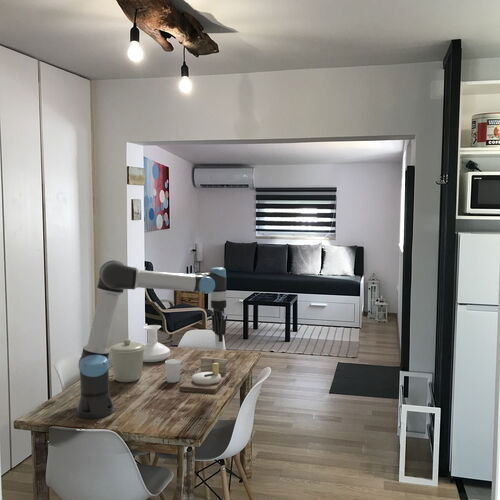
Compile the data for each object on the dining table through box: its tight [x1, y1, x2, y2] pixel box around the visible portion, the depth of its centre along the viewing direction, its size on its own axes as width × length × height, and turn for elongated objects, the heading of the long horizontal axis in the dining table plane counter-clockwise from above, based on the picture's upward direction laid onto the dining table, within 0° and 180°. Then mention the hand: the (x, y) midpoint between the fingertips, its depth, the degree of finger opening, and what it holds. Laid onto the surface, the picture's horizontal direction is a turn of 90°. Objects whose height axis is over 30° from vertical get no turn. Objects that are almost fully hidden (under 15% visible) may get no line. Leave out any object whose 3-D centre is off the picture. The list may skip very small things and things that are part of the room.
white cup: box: [164, 358, 182, 384], centre depth 266 cm, size 8×8×10 cm
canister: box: [108, 338, 145, 383], centre depth 268 cm, size 18×18×21 cm
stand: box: [178, 356, 232, 394], centre depth 262 cm, size 27×18×9 cm, turn 166°
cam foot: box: [191, 363, 221, 385], centre depth 259 cm, size 14×14×8 cm
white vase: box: [142, 324, 171, 363], centre depth 304 cm, size 20×20×19 cm
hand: (219, 347), depth 255 cm, fingers closed
